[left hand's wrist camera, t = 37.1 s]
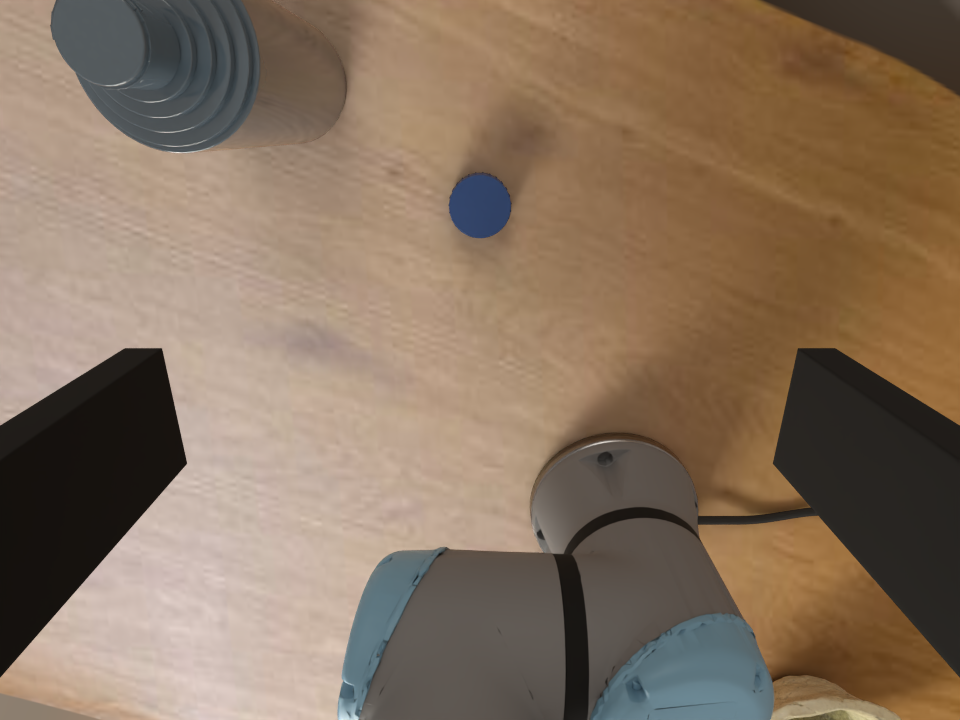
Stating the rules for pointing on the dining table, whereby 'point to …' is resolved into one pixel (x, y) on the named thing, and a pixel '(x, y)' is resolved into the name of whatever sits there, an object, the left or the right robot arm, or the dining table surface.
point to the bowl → (821, 702)
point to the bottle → (202, 71)
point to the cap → (480, 205)
